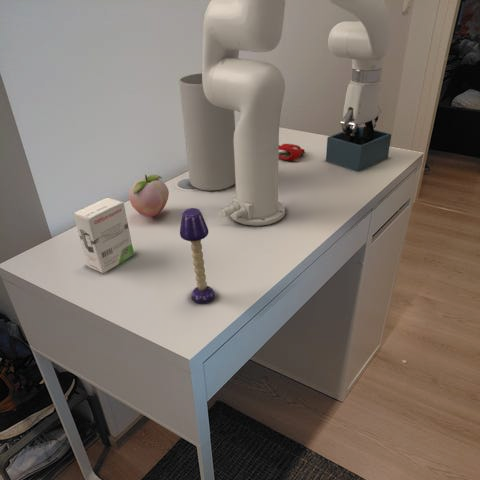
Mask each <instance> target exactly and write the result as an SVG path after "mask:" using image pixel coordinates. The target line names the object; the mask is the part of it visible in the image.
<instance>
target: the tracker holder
mask: <svg viewBox="0 0 480 480" xmlns="http://www.w3.org/2000/svg"><path fill="white" fill-rule="evenodd" d="M279 151H286V152H289V153H290V155H289V156H288V157H286V156H283V155H279V159H280V160H284V161H290V162H293V161H294V162H295V161H296V160H297V159H298V158H299V157H300V156H301V155H302V154H305V149H304V148H301V146H299V145H298V144H294V143H282V144H281V145H279Z"/></svg>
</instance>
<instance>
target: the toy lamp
mask: <svg viewBox="0 0 480 480" xmlns="http://www.w3.org/2000/svg"><path fill="white" fill-rule="evenodd" d="M180 218H181V219H180V227H179V228H180V229H179V236H180V238H181V239H182V240H184V241H187V242H190V248H191V251H192V253H191V255H192V259H193V266H194V269H193V270H194V274H195V282H196V287H195V288H194V289H193V290H192V291H191V301H192V302H194V303H196V304H199V305H201V304H202V305H203V304H204V305H205V304H208V303H211V302H212V301H214V299H215V298H216V293H215V291H214V289H213V288H212V287H211V286H209V285H208V283H207V281H206V280H207V276H206V268H205V260H204V253H203V245H202V240H204V239H205V238H206V237H208V234H209V228H208V225H207V222H206V221H205V218H204V215H203V213H202V211H201V210H200V209H198V208H196V207H191V208H186V209H184V210H183V211H182V213H181V217H180Z"/></svg>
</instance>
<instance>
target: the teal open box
mask: <svg viewBox="0 0 480 480" xmlns="http://www.w3.org/2000/svg"><path fill="white" fill-rule="evenodd" d="M363 127H364V126H361V125H358V127H357V129H356V132H355V136H357V138H361V137H362V135H363ZM350 128H351V130H352V128H353V127H350ZM344 140H345V134H344V131H343V130H342V131H339V132H338V133H334V134H332V135H330V136H329V135H328V136H327V139H326V151H325V152H326V153H325V162H327V163H330V164H333V165H336V166H340V167H343V168H347V169H349V170H353V171H356V172H360V171H362V170H365V169H367V168H369V167H371V166H372V167H373V166H374V165H377V164H379V163H381V162H383V161H385V160H387V159H388V158H389V154H390V153H389V152H390V146H391V140H392V133H389V132H385V131H381V130H377V129H374V134H373V141H370V142H368V143H365V144H363V143H364V142H362V140H360V144H355V143H351V142H347V141H344ZM357 140H359V139H357ZM355 141H356V140H355ZM356 142H357V141H356ZM362 144H363V145H362Z"/></svg>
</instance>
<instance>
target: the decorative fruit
mask: <svg viewBox="0 0 480 480" xmlns="http://www.w3.org/2000/svg"><path fill="white" fill-rule="evenodd" d="M161 179H163V177H162V176H161V175H159V174H151V175H148V176H147V174H145V175H144V178H139V179H138V180H136V181H135V182H134V183H133V184H132V185H131V187H130V188H129V191H128V199H129V202H130V204H131V207H133V209H134V210H135V211H136V212H137V213H139V214H140V215H142V216H144V217H150V218H153V217H156V216H157V215H158V214H159V213H161V212H162V211H163V210H164V209H165V207H166V205H167V203H168V200H169V195H170V192H169V188H168V185H166V183H165V182H164V181H162V180H161Z"/></svg>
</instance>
